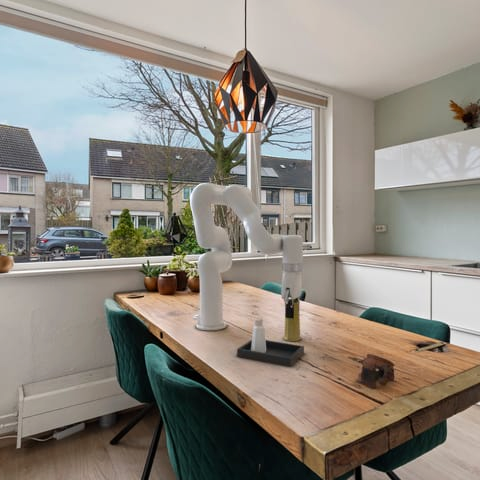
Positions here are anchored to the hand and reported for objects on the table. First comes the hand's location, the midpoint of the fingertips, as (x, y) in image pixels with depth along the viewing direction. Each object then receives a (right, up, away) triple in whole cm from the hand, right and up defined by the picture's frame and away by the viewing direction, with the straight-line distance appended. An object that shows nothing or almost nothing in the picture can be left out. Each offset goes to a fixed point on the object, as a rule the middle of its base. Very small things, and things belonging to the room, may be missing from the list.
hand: (292, 315), depth 135 cm
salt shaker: (-13, -9, -14) cm, 21 cm away
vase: (0, -9, 0) cm, 9 cm away
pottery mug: (+19, -11, -37) cm, 43 cm away
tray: (-9, -10, -16) cm, 21 cm away
